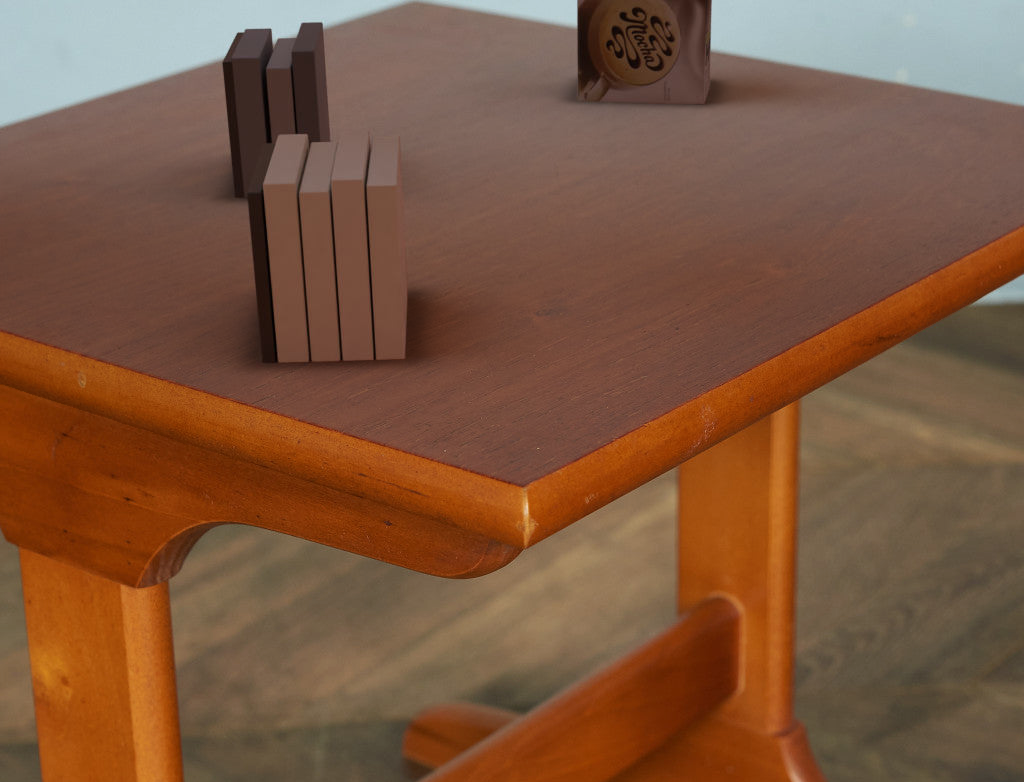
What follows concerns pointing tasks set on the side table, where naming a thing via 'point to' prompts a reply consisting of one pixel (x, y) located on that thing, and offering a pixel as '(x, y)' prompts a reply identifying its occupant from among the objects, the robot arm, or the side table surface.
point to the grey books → (273, 94)
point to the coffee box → (643, 51)
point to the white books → (329, 248)
